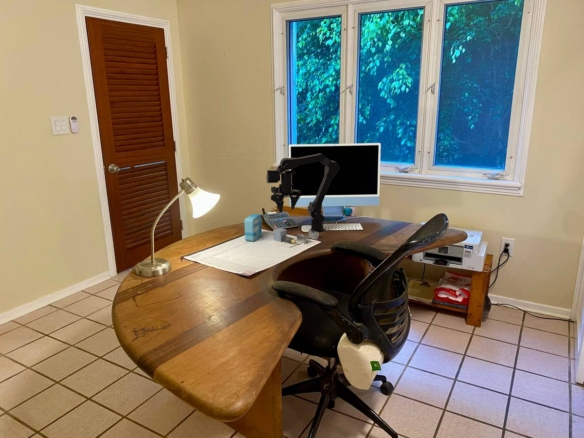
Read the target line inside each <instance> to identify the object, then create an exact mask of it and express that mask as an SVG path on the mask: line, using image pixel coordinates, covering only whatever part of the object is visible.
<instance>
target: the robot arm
mask: <svg viewBox="0 0 584 438" xmlns="http://www.w3.org/2000/svg"><path fill="white" fill-rule="evenodd" d="M319 162H320V163H321V164H322V165H324V166H325V167H324V174H323V177H322V181H321V182H320V186H319V188H318V191H317V193H316V195H315V198H314V199H313V201H309V203H308V206H307V213H308V215H309V217H310V218H312V220H311V228H310V229H309V231H310V230H313V231H317V232H319V233H321V232H324V231H326V228H324V221H325V219H326V217H325V216H324V215H323V214H322V210H323V202H324V200H325V198H326V195H327V193H328V189H329V187H330V185H331V183H332V180H333V178H334V177H335V176H336V175H337V173H338V172H339V170H340V165H339V163H338V162H337V161H334V160H331V159H330V158H328V157H326V156H325V155H324V154H323V153H317V154H312V155H311V154H310V155H305V156H299V157H283V158H281V160H280V161H279V165H278V166H277V168H276V169H272V170H270V169H266V171H267V172H266V176H265V177H266V179H265V180H266V183H267V184H279V185H278V186H277V187H276V186H271V187H270V191H271V195H270V201H272V202H274V203H275V204H276V207H277V209H278V212H279V213H280V214H282V212H283V209H284V203H285V201H284V199H285V198H289V199H290V209H291V210H294V209H295V207H296V205H297V203H298V201H299V199H300V198H301V197H302V195H303V194H302V193H303V192H302V191H301V190H299V189H293V187H294V184H293V183H292V182H293V180H292V179H293V175H295V174H296V172H295V170H294V169H295V168H297V167H299V166H304V165H309V164H314V163H319ZM279 182H280V183H279Z"/></svg>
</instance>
